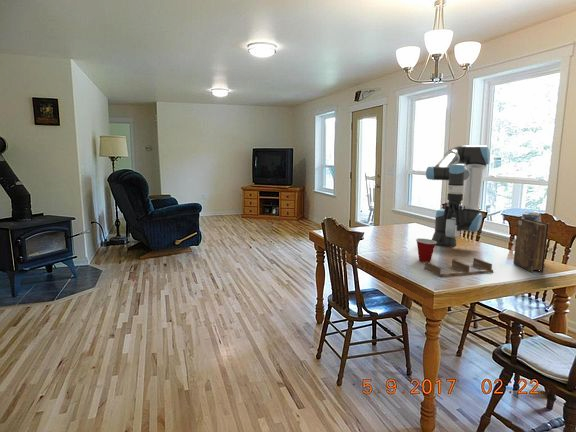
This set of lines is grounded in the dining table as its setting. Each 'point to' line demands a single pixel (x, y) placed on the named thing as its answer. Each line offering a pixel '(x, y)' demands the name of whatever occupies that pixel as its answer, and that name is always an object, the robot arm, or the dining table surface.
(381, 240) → the dining table surface
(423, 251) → the plastic cup
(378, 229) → the dining table surface
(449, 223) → the stoneware jar
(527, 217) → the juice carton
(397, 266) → the dining table surface
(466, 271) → the comb rack
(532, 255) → the book
